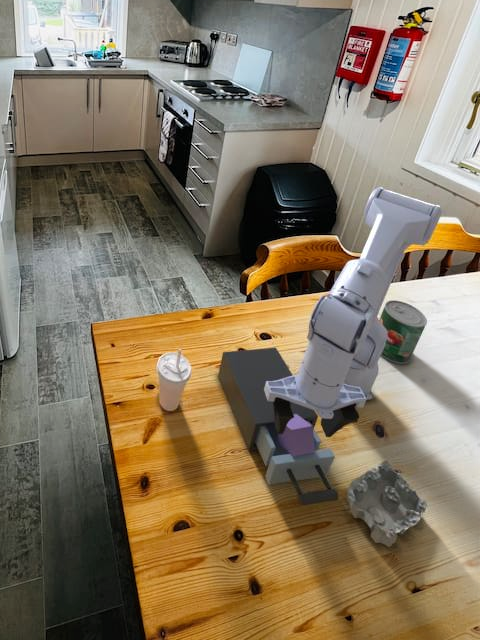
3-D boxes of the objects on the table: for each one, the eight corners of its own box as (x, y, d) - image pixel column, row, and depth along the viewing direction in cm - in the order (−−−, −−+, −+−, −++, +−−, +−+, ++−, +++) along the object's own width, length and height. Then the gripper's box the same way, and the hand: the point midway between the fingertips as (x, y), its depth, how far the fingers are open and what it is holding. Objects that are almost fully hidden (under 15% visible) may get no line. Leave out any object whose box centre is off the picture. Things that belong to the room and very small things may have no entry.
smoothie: (184, 421, 73) (194, 367, 68) (150, 413, 74) (157, 360, 69) (186, 390, 79) (195, 338, 74) (154, 383, 80) (161, 332, 75)
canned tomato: (416, 354, 91) (433, 317, 86) (401, 369, 87) (418, 332, 82) (379, 330, 97) (394, 295, 92) (364, 344, 92) (378, 308, 88)
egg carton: (382, 555, 57) (391, 540, 55) (337, 498, 63) (344, 483, 62) (426, 520, 61) (436, 504, 60) (380, 470, 67) (388, 455, 66)
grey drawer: (345, 510, 61) (355, 490, 59) (283, 520, 59) (291, 499, 57) (284, 399, 78) (290, 380, 76) (234, 404, 76) (239, 385, 74)
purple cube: (298, 438, 67) (296, 413, 68) (315, 452, 63) (313, 425, 64) (278, 442, 66) (276, 417, 67) (293, 457, 62) (291, 429, 63)
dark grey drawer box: (308, 442, 71) (318, 416, 68) (248, 450, 69) (255, 424, 66) (269, 371, 84) (275, 347, 82) (217, 376, 82) (222, 352, 80)
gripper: (283, 391, 55) (264, 452, 60) (388, 398, 54) (359, 459, 60) (267, 348, 61) (251, 408, 66) (361, 354, 61) (337, 413, 66)
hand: (301, 429), depth 63 cm, fingers open, 7 cm apart
